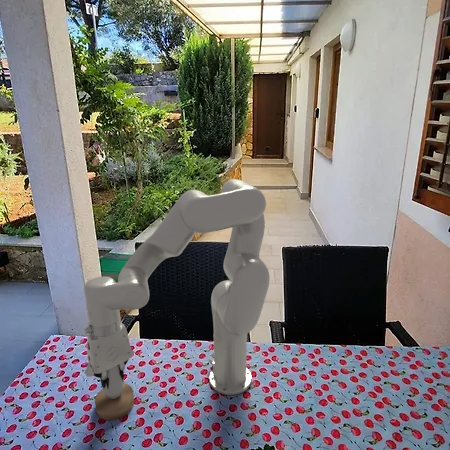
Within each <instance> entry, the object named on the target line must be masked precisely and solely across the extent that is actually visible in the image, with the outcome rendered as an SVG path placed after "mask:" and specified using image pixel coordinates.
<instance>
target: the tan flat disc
mask: <svg viewBox="0 0 450 450" xmlns="http://www.w3.org/2000/svg"><path fill="white" fill-rule="evenodd" d="M134 405H135V395H134V389H133V388H132V386H131V385H129V384H128V383H125V384H124V389H123V391H122V393H121V396H119V397H117V398H115V399H110V398H107V397H106V395H105V394H104V393H103V391H102V389H100V390H99V392H98V393H97V394H96V395H95V399H94V406H95V413H96V415H97V417H99V418H100V419H102V420H105V421H115V420H118V419H119V420H120V419H121V418H123V417H125V416H126V415H127V414H129V413H130V412H131V410H132V409H133V407H134Z"/></svg>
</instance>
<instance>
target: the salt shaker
mask: <svg viewBox="0 0 450 450" xmlns="http://www.w3.org/2000/svg"><path fill="white" fill-rule="evenodd" d="M106 374H107V377H108V378H109V387H108V388H107V385H106V386H105V388H103V387H102V386H101V390H102V391H103V393H104V394H105V395H106V397H107V398H110V399H115V398H117V397H119V396H121V393H122V391H123V389H124V384H126V383H125V379H124V378H123V380H122V379H121V376H120V370H119V365H117V366H115V367H113V368H111V369H109V370H107V371H106ZM123 382H124V383H123Z"/></svg>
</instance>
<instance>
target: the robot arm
mask: <svg viewBox="0 0 450 450" xmlns="http://www.w3.org/2000/svg"><path fill="white" fill-rule="evenodd" d="M266 202H267V201H266V197H265V195H264V194H263V192H262V190H260V189H259V188H257V187H255V186H253V185H251V184H249V183H248V182H246V181H244V180H241V179H237V178H234V179H233V178H232V179H229V180H227V181H225V183H224V184H222V187H221V189H220V193H215V194H211V195H207V194H206V193H204V192H203V191H200V190H198V189H190V190H187V191H184V193H183V194H181V195H180V196H179V198H178V199H177V201H176V202H175V203H174V204H173V206H172V207H171V209H170V210H169V212H167V214H166V215H165V217H164V218H163V220H162V221H161V222H160V224H159V225H158V226H157V227H156V229H155V230H154V232H152V234H151V235H150V236H149V237H148V238H146V240H145V241H144V242H143V243H142V244H140V245H139V246H138V247H137V248H136V249H135V251H134V252H133V253H132V254H131V256H130V257H129V259H128V260H127V261H126V262H125V264H124V265H123V267H122V268H121V270H120V272H119V274H118V278H117V282H116V280H115V279H114V278H112V277H110V276H98V277H97V276H96V277H94V278H91V279H89V280H88V281H87V282H86V283H84V284H85V285H84V287H83V292H84V299H85V300H84V301H85V306H86V311H87V319H88V322H87V327H85V328H83V333H84V334H85V335H86V334H87V342H86V353H87V366H86V368H85V370H84V375H85V376H86V377H96V378H98V379H100V384H101V388H102V387H103V388H105V386H106V385H107V388H108V387H109V378H108V377H107V374H106V371H107V370H109V369H111V368H113V367H115V366H117V365H119V370H120V376H121V379H122V380H123V379H124V378H125V372H124V370H126V365H127V364H128V362H129V360H130V359H131V358H132V357H133V356H134V354H135V351H134V350H133V348H132V347H131V342H130V339H129V335H128V334H129V333H128V331H127V328H126V326H125V324H124V323H122V319H121V312H120V311H121V310H124V311H125V310H126V311H127V310H128V311H134V310H139V309H142V308H143V307H145V306H146V305H147V304H148V302H149V300H150V289H149V288H150V287H149V283H148V280H149V278H150V276H152V273H153V272H154V271H155V270H156V269H157V267H158V266H159V265H160V264H161V263H162V262H163V261H165V260H166V259H168V258H172V257H173V258H174V257H179V256H180V255H181V254H182V253H183V251H184V250H185V249H186V248H187V246H188V245H189V243H190V242H191V241H192V239H193V238H194V236H195V235H196V233H197V234H206V233H214V232H219V231H222V230H226V229H231V228H232V229H231V234H230V237H229V241H228V246H227V249H226V254H225V256H224V260H223V265H222V266H223V270H224V274H225V275H226V277H227V278H228V279H227V280H223V281H220V282H219V283H217V284H216V285H215V287H214V288H213V290H212V293H211V298H210V305H211V313H212V322H213V324H212V325H213V352H212V354H211V357H209V359H208V363H210V364H211V365H212V370H211V371H210V372H209V385H210V386H211V388H213V390H215V391H216V392H218V393H219V394H223V395H226V396H227V395H228V396H235V395H239V394H241V393H244V392H245V391H247V390H248V389H249V387H250V386H251V383H252V373H251V371H250V370H249V369H248V368H247V355H248V354H247V351H248V350H247V349H248V347H247V345H248V344H247V342H248V340H247V339H248V338H247V337H248V334H249V333H250V332H251V331H252V330H253V329H254V328H255V327H256V326H257V324H258V321H259V319H260V317H261V315H262V311H263V309H264V304H265V302H266V301H265V300H266V297H267V295H268V290H269V286H270V282H271V280H270V272H269V268H268V267H267V264H265V263H264V261H263V260H262V259H261V258H260V253H261V248H262V245H263V244H262V243H263V240H264V236H265V235H264V234H265V227H266V225H265V224H266V222H265V215H264V213H265V210H266V206H267V203H266ZM124 382H125V381H124ZM124 382H123V383H124Z"/></svg>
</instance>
